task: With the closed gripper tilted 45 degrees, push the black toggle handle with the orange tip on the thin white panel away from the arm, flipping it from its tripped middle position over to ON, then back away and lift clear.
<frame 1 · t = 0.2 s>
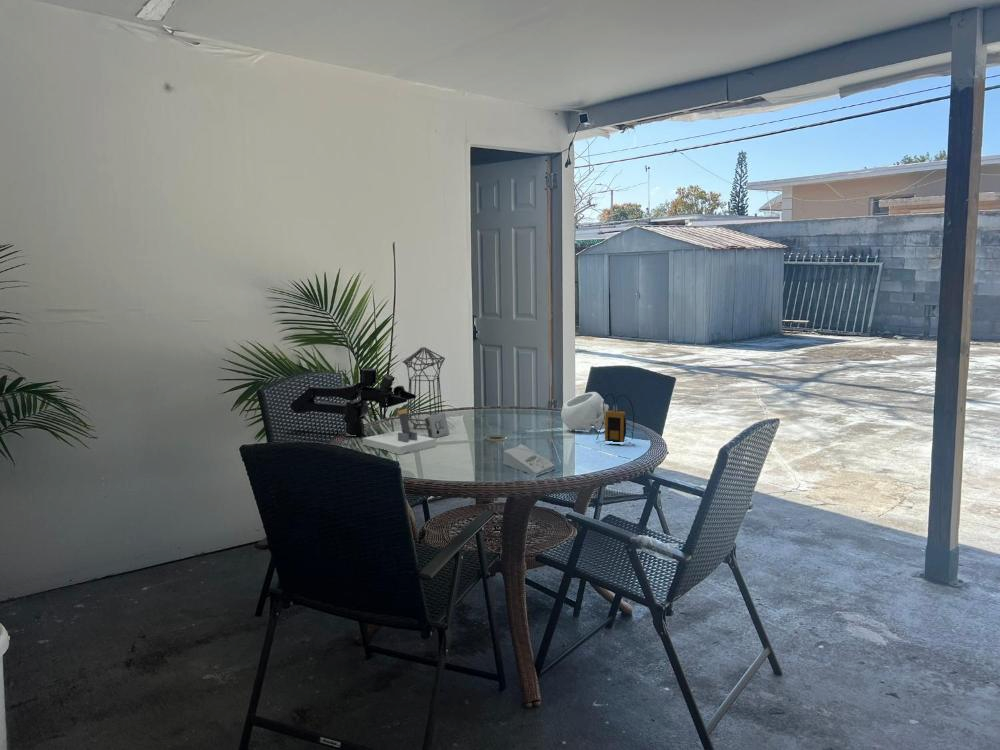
hand: (411, 398, 301), 17 cm above the table, tool horizontal, fingers open, 9 cm apart
electrical switch: (436, 436, 309), on the table
skull planter: (587, 431, 318), on the table
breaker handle: (404, 423, 288), point 9 cm above the table, hinge at -15.0°
geometric lantern: (424, 428, 325), on the table
multimeter: (617, 443, 296), on the table
thin white panel: (407, 448, 288), on the table
ramp: (527, 468, 261), on the table
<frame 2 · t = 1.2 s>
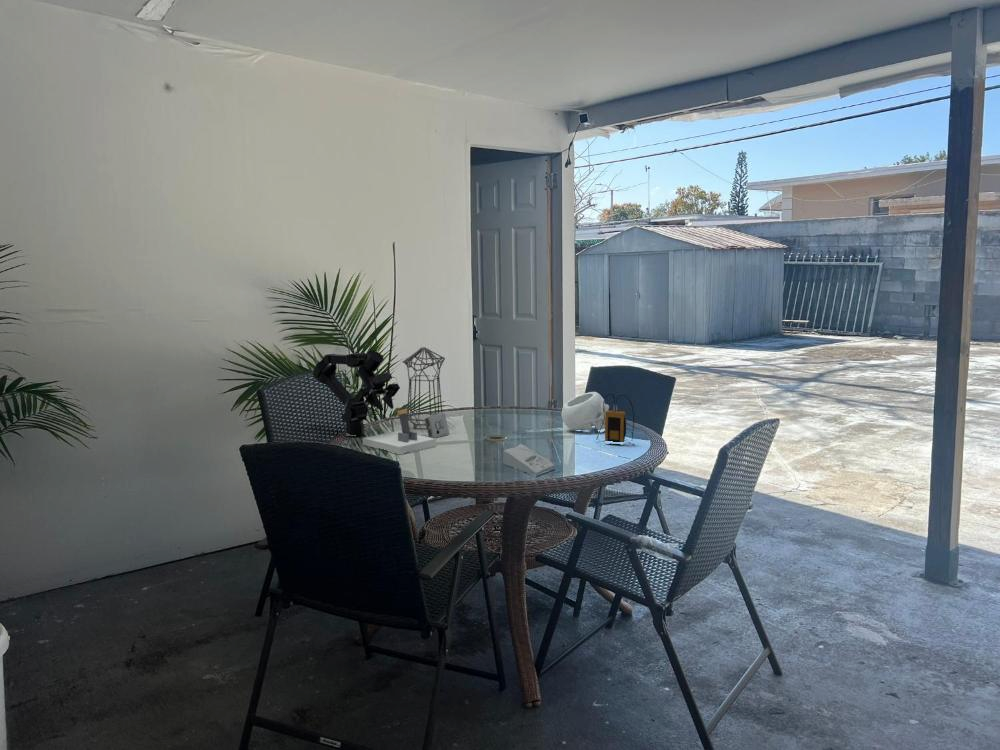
hand: (387, 409, 294), 14 cm above the table, tool tilted 45°, fingers open, 5 cm apart
nothing on the table moved.
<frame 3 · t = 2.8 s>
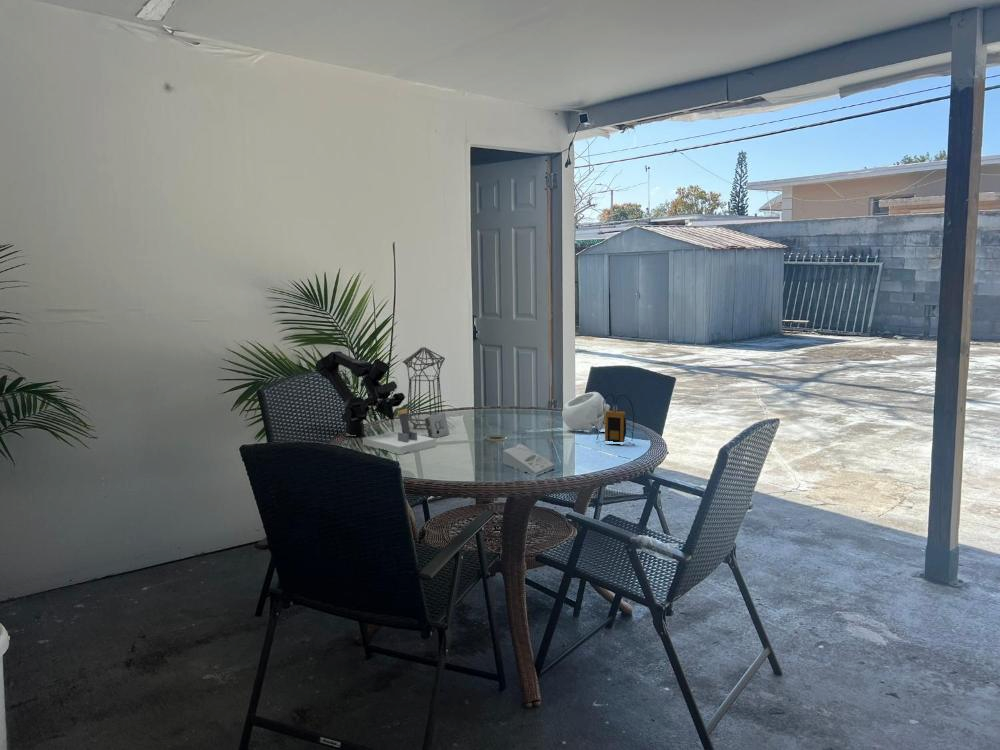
hand: (393, 419, 292), 10 cm above the table, tool tilted 45°, fingers closed
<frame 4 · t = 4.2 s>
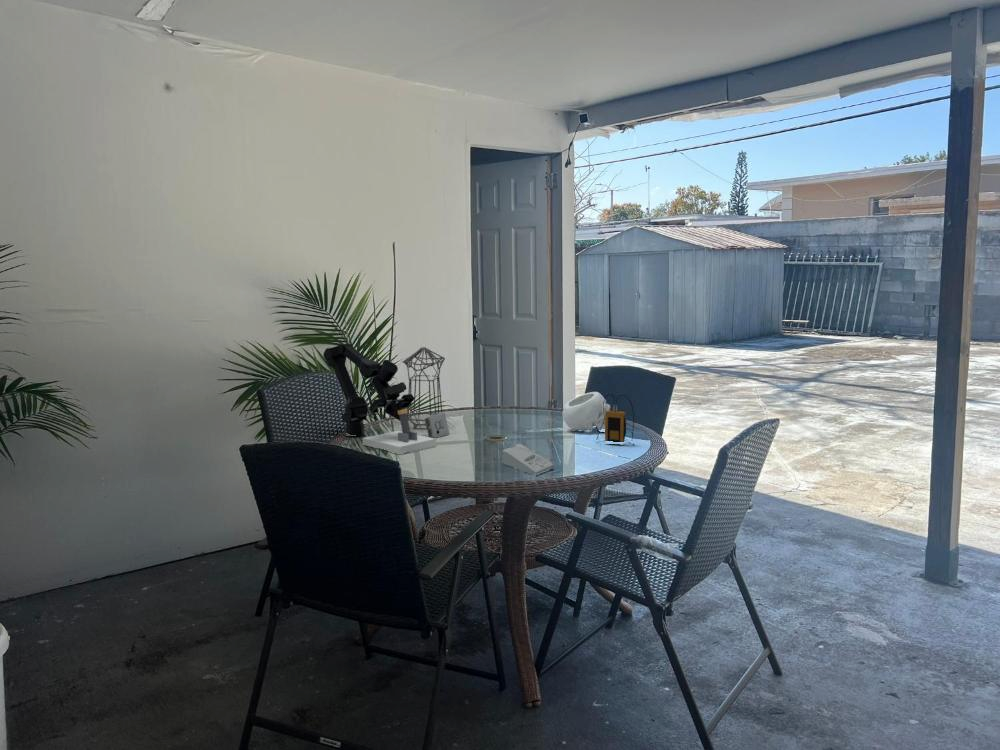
hand: (402, 420, 289), 10 cm above the table, tool tilted 45°, fingers closed, pressing on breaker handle
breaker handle: (404, 423, 288), point 9 cm above the table, hinge at -14.5°, touching gripper
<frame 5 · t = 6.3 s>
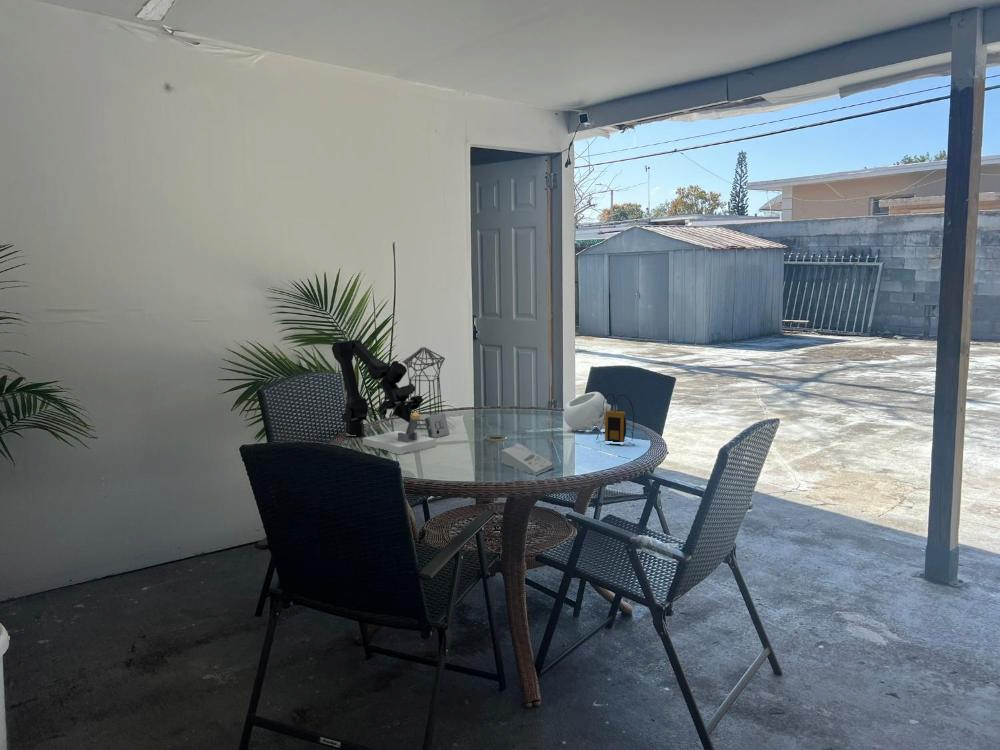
hand: (411, 422, 285), 10 cm above the table, tool tilted 45°, fingers closed, pressing on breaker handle
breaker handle: (411, 426, 285), point 9 cm above the table, hinge at 25.7°, touching gripper
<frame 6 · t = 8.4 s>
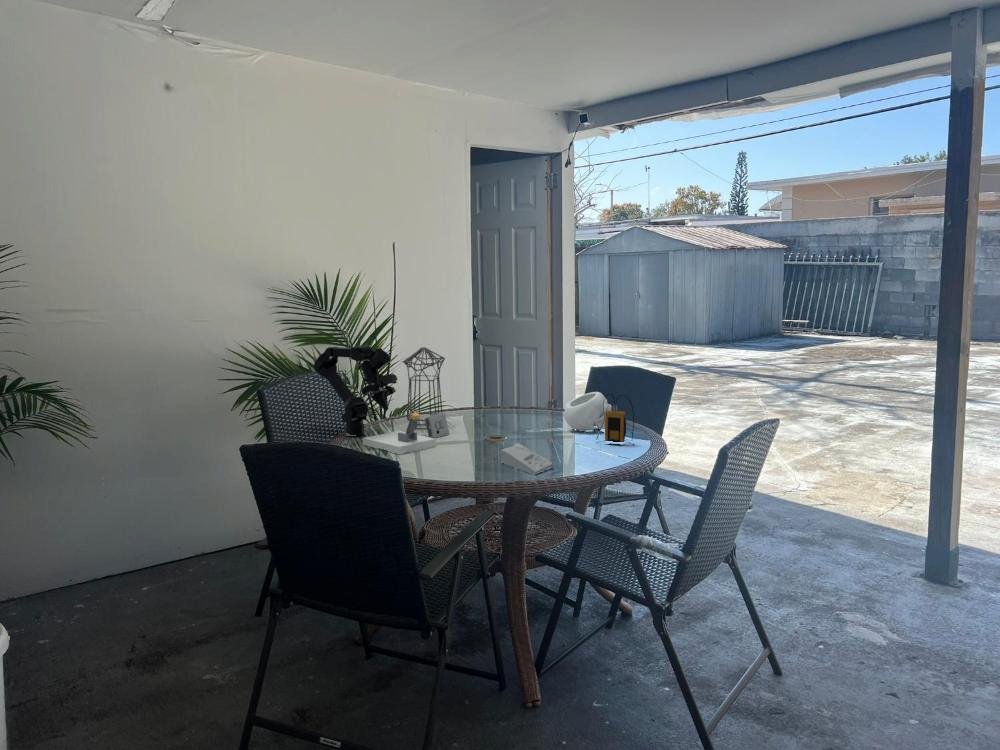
hand: (386, 410, 296), 13 cm above the table, tool tilted 30°, fingers closed
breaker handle: (411, 426, 285), point 9 cm above the table, hinge at 25.8°
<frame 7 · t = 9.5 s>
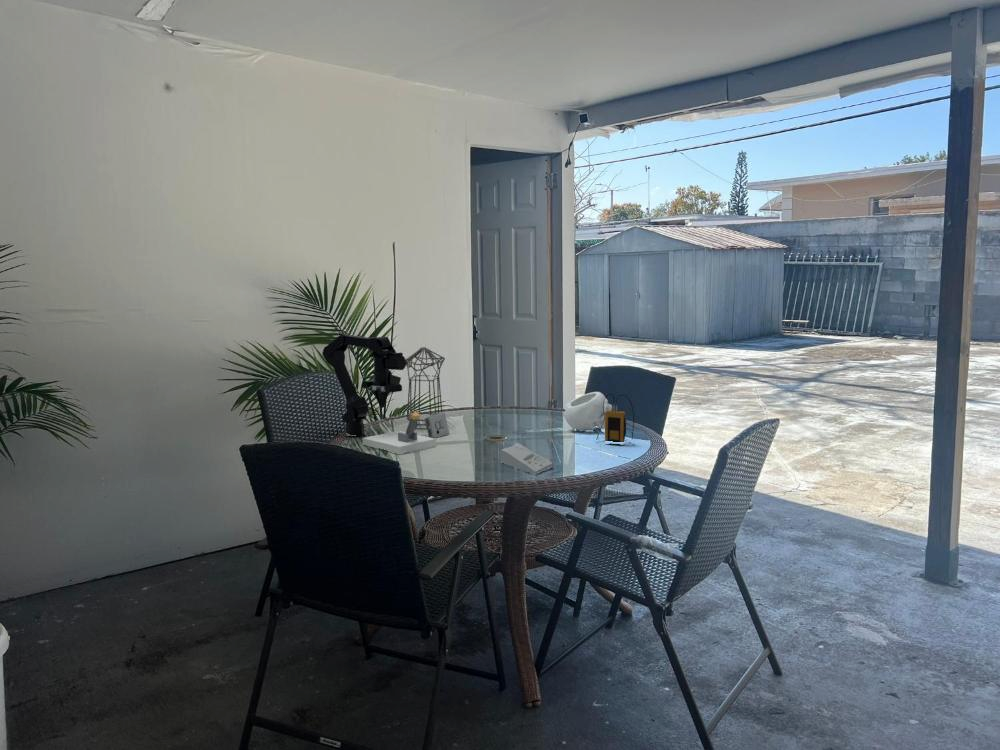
hand: (382, 407, 301), 13 cm above the table, tool pointing down, fingers closed
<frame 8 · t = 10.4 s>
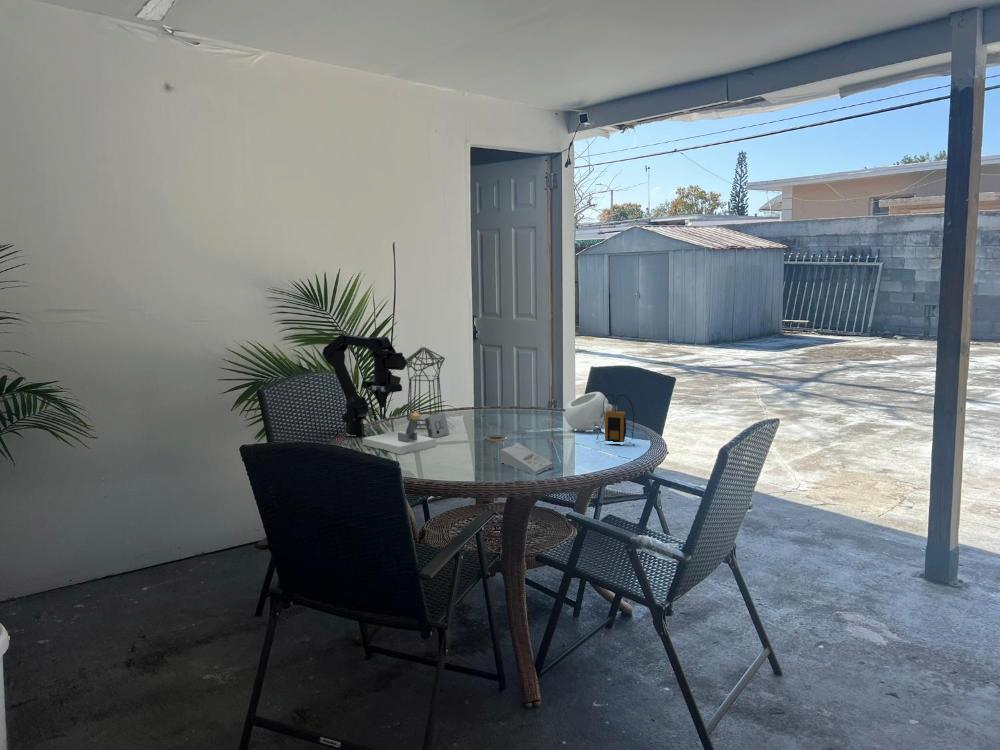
hand: (382, 407, 301), 13 cm above the table, tool pointing down, fingers closed
at the end: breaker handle at +26° (first picture: -15°) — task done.
